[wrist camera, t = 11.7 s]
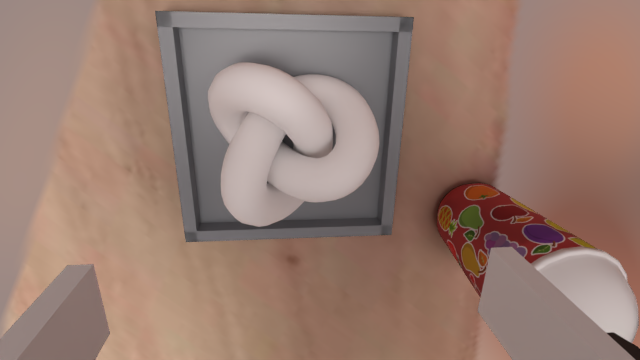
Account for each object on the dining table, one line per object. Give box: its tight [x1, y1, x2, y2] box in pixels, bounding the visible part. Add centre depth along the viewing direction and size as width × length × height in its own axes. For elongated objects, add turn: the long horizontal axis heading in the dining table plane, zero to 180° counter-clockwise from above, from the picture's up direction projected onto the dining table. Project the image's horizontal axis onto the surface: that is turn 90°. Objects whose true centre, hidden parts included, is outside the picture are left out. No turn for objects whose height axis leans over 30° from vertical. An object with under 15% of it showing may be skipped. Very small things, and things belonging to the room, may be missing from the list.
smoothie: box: [437, 183, 639, 343], centre depth 27 cm, size 8×8×20 cm
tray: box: [155, 11, 414, 242], centre depth 30 cm, size 18×18×2 cm
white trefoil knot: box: [208, 62, 379, 227], centre depth 27 cm, size 11×12×9 cm
